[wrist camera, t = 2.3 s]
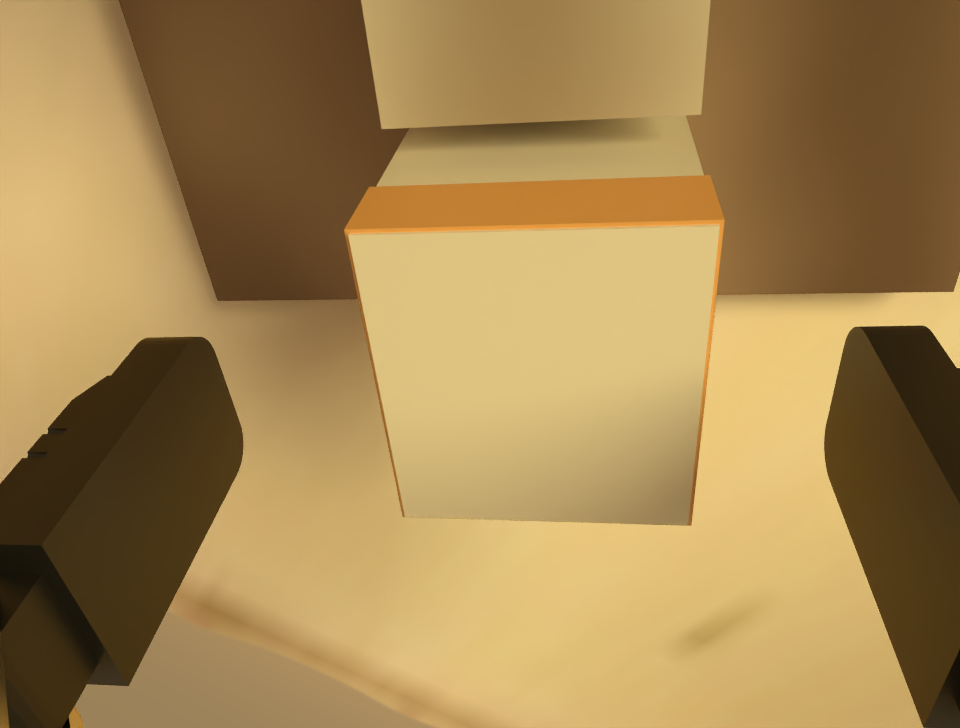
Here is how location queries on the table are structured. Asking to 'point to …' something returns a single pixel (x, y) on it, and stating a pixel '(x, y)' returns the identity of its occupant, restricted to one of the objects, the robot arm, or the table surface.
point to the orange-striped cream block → (542, 318)
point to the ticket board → (761, 136)
